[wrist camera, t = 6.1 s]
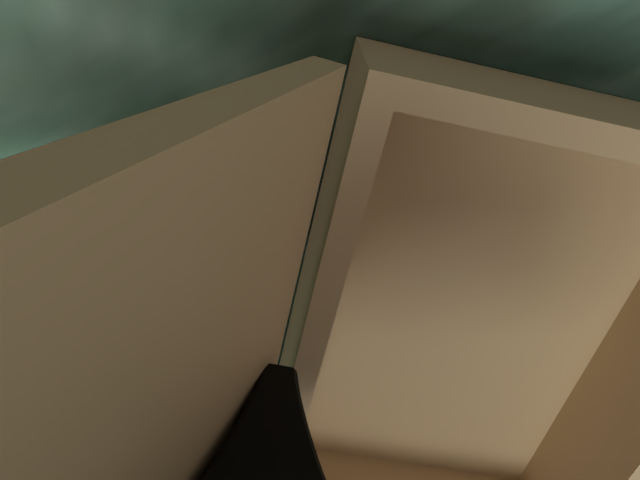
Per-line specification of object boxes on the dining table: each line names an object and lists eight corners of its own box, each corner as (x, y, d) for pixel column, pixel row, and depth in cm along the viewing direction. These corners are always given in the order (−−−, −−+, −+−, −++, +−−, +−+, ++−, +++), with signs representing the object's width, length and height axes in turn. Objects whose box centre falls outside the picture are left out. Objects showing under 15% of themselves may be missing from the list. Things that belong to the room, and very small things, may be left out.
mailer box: (524, 478, 20) (567, 590, 16) (261, 438, 19) (248, 549, 16) (740, 125, 13) (888, 186, 10) (355, 36, 12) (368, 69, 9)
